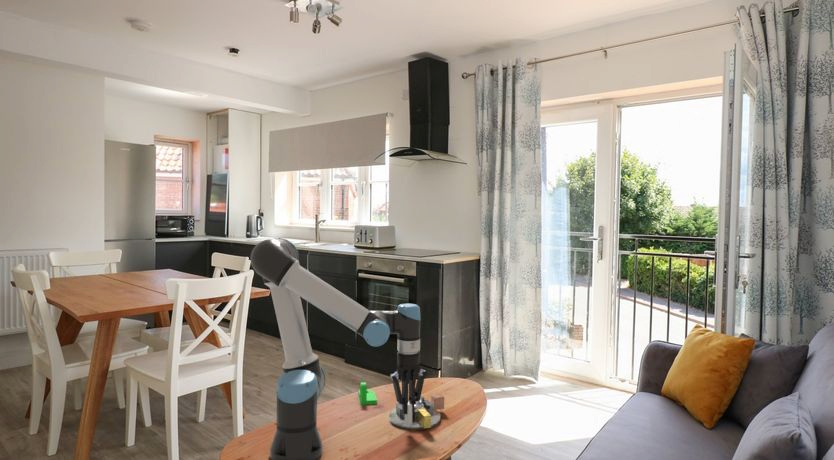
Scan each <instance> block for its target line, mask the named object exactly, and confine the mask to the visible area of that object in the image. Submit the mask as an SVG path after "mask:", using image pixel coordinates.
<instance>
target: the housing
mask: <svg viewBox="0 0 834 460" xmlns="http://www.w3.org/2000/svg"><path fill="white" fill-rule="evenodd" d="M430 402H431V403H432V404H433V405H434V415H433V416H432V417H431V428H433V427H436V426H437V425H439V423H440V422H441V413H440V412H439V410H444V409H445V396H444V395H443V394H442V393H440V394H432V395H431V396H430ZM416 409H424V404H423V403H421V402H416V404H415V405H414V410H416ZM388 420H389V423H390V424H391V425H393V426H395V427H397V428H401V429H404V430H413V431H418V430H419V431H421V430H427V429H428V428H423V427H422V426H421V424H420V423H419V422H418V421H412V424H411V425H407V424H406V423H405V422H404V419H401V418H399V417H398V415H397V414H396V407H395V408H393V409H392V410H391V411H390V412H389V415H388Z"/></svg>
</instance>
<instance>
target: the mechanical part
mask: <svg viewBox="0 0 834 460" xmlns="http://www.w3.org/2000/svg"><path fill="white" fill-rule="evenodd" d="M367 388H368V387H367V382H365V381H364V382H363V381H362V382H360V383H359V390H358V397H359V401H360V404H361V405H362V406H363V405H365V406H366V405H377V404H378V398H377V396H376V394H375V390H371V389H367ZM361 405H360V406H361Z"/></svg>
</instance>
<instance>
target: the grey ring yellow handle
mask: <svg viewBox="0 0 834 460" xmlns="http://www.w3.org/2000/svg"><path fill="white" fill-rule="evenodd" d="M408 402H409V398H408ZM416 402H421V403H423V404H424V409H416V410H414V413H412V421H418V422H419V423H420V424H421V426H422V427H423V428H427V429H430V428H432V427H431V417H432V416H433V415H434V405H433V404H432V403H431V400H429V399H425V396H422V395H421V397H420V400H419V401H416ZM395 405H396V406H395V408H396V414H397V415H398V417H399V418H401V419H404V418H405V414H403V412H402V404H400V403H399V402H398V401H397V402H396V404H395Z"/></svg>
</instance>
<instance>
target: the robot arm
mask: <svg viewBox="0 0 834 460" xmlns="http://www.w3.org/2000/svg"><path fill="white" fill-rule="evenodd" d="M299 257H300V256H299V250H298V248H297V247H296V245H295V244H294V243H293V242H292V241H289V240H288V239H285V238H281V237H278V238H273V239H272V238H271V239H265V240H262V241H260V242H258V243H257V244H256V245H255V246H253V249H252V251H251V253H250V265H251V267H252V268H253V271H255V273H256V274H257V275H259V276H260V277H262V281H263V284H264V285H265V286H267V287H268V288H269V289H270V293H271V298H272V302H273V307H274V311H275V312H274V313H275V316H276V321H277V324H278V330H279V335H280V340H281V344H282V349H283V352H284V358H285V361H284V363H283V364H282V370H283V374H281V376H279V378H278V379H277V384H276V388H275V391H276V428H275V429H276V430H275V434H274V436H273V439H272V442H271V444H270V448H269V457H270V458H271V459H272V460H319V458H320V457H321V455H323V442H322V439H321V436H320V433H319V429H318V426H317V425H318V424H317V422H318V420H317V419H318V417H317V416H318V401H319V398H320V396H321V394H322V392H323V391H324V389H325V385H326V373H325V370H324V368H323V367H322V365H321V363H320V359H319V355H318V354H316V353H314V352H313V349H312V346H311V341H310V339H311V338H310V336H309V331H308V326H307V320H306V316H305V314H304V312H305V311H304V309H303V304H302V299H303V300H305V301H306V302H308V303H309V304H311V305H313V306H314V307H316V308H317V309H319V310H321V311H322V312H324V313H325V314H327V315H328V316H330V317H331V318H332V319H334V320H337V321H338V322H339V323H341V324H343V325H344V326H346V327H347V328H349V329H350V330H352V331H353V332H355V333H357V334H358V335H360V336H361V337H362V338H363V339H364V340H365V342H366V343H367V344H368V345H369V346H371V347H381V346H383V345H385V343H387V341H388V339H389V338H390V335H396V337H397V344H396V345H397V347H396V348H397V349H396V350H397V351H398V352H396V354H397V355H396V359H397V361H396V363H397V364H396V365H397V367H396V369H395V371H394V373H390V374H389V378H390V379H391V382H392V385H393V390H394V394H395V399H396V402H397V403H398V402H399V403H400V404H402V412H403V414H405V418H404V422H405V423H406V424H407V425H411V424H412V413H414V405H415V404H416V401H419V400H420V397H421V396H422V392H423V388H424V382H425V379H426V377H427V374H428V372H427V371H426V370H425V369H422V367H421V366H422V365H421V352H420V351H421V320H422V319H421V308H420V306H419V305H418V304H415V303H400V304H399V305H398V306H397V309H396V310H395V309H394V310H373V309H372V310H369V309H368V308H366V307H365V306H364V305H361V304H360V303H359V302H357V301H355V300H354V299H353V298H351V297H349V296H348V295H346V294H344V293H343V292H341V291H340V290H338V289H336V287H334V286H332V285H331V284H329V283H327V282H326V281H324V280H322V278H320V277H318V276H317V275H315V274H314V273H312V272H310V271H309V270H307V268H304V267H303V266H301V265H300V260H299V259H300V258H299ZM301 298H302V299H301ZM399 378H400V382H401V385H400V382H399ZM408 399H409V402H408ZM270 458H269V459H270ZM271 459H270V460H271Z"/></svg>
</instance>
